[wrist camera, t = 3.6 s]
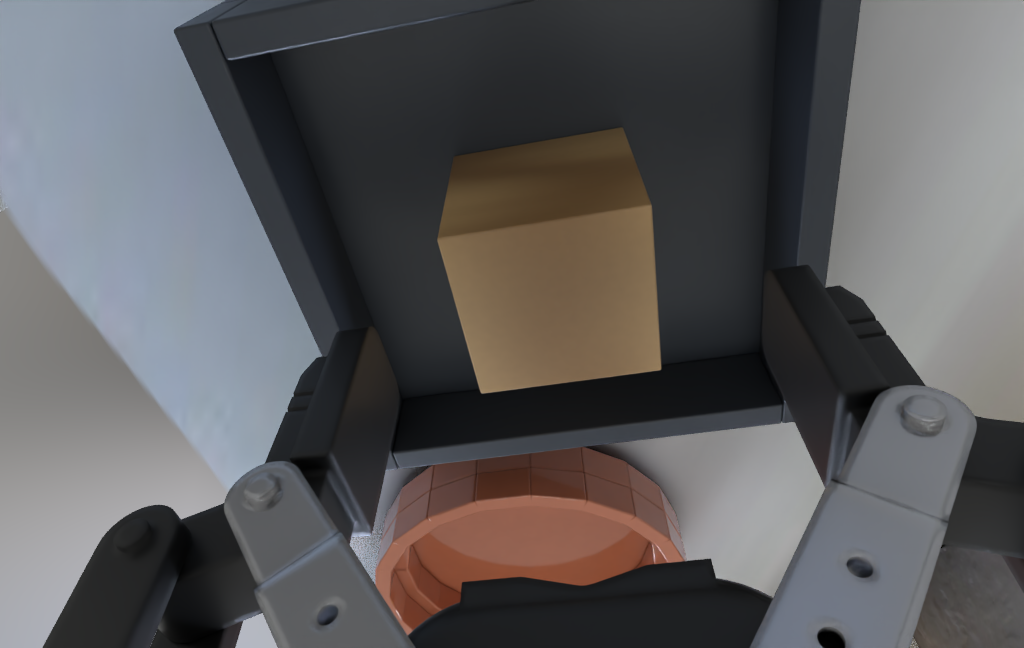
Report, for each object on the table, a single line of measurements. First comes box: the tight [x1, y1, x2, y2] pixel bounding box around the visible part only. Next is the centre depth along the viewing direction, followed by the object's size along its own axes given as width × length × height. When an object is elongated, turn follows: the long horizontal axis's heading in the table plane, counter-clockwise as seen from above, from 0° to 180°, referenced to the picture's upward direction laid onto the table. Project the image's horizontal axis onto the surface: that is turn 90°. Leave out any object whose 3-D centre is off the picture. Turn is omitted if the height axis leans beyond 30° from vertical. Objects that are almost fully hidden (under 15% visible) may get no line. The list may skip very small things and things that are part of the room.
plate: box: [375, 447, 687, 635], centre depth 27 cm, size 12×12×3 cm
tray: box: [174, 0, 861, 471], centre depth 18 cm, size 14×14×3 cm
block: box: [437, 127, 661, 394], centre depth 17 cm, size 4×4×4 cm
